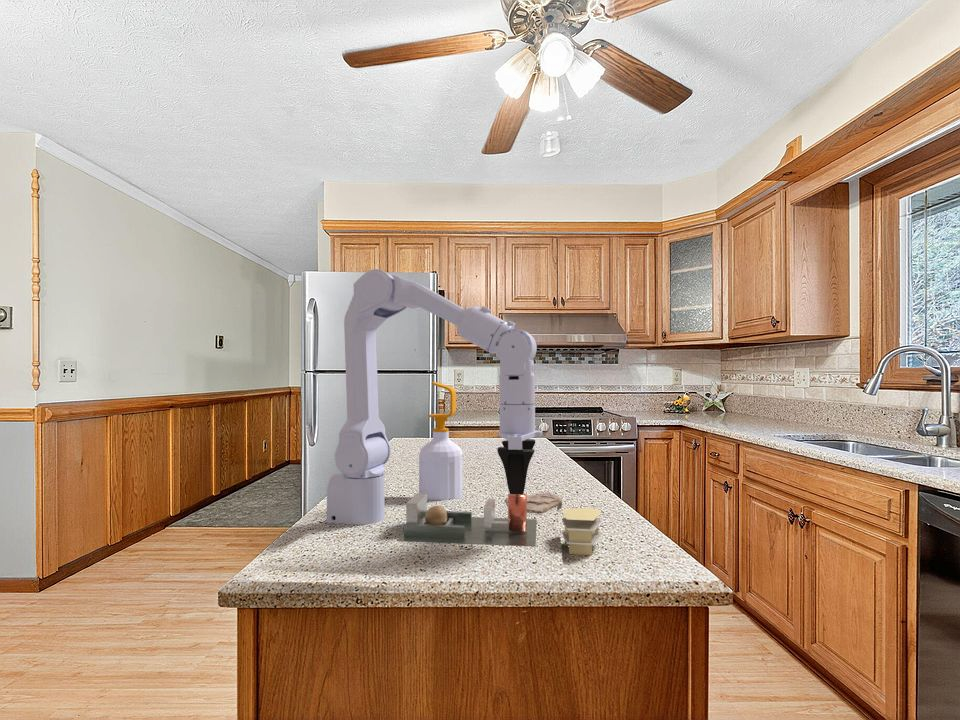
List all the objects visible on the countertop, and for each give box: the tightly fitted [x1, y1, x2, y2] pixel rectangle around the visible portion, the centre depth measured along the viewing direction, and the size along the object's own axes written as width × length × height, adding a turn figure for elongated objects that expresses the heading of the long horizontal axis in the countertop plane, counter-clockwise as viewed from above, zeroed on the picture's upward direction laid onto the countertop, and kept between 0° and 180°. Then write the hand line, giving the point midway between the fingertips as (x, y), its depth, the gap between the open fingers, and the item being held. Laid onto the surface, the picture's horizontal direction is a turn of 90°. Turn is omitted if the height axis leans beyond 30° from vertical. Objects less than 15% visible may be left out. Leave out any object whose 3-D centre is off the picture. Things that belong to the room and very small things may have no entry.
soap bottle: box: [418, 381, 463, 501], centre depth 110 cm, size 9×9×25 cm
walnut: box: [425, 505, 447, 525], centre depth 86 cm, size 4×4×4 cm
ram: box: [483, 492, 528, 532], centre depth 85 cm, size 7×6×6 cm
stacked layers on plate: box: [561, 507, 602, 556], centre depth 81 cm, size 10×9×6 cm
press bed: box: [396, 492, 538, 548], centre depth 86 cm, size 21×14×6 cm, turn 83°
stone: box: [505, 492, 563, 514], centre depth 101 cm, size 11×12×3 cm
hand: (517, 488), depth 85 cm, fingers open, 7 cm apart
